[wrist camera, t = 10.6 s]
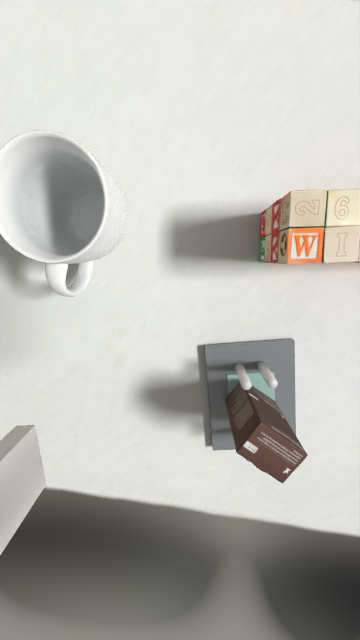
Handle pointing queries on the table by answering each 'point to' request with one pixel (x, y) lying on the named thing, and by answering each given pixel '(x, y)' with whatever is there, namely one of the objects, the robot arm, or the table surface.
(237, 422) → the box
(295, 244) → the stack of blocks
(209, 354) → the grey pegged stand
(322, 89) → the table surface
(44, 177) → the mug
